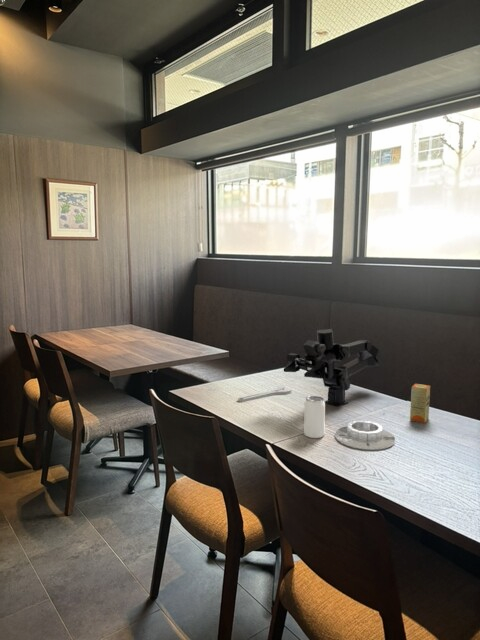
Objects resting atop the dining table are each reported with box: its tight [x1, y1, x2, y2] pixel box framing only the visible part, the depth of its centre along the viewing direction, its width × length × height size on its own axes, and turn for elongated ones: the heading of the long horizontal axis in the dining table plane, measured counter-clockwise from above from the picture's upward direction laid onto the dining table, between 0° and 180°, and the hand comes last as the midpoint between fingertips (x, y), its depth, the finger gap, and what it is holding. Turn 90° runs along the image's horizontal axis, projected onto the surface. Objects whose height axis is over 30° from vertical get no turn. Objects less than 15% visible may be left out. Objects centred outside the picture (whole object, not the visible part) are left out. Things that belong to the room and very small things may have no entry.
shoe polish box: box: [409, 383, 431, 424], centre depth 163 cm, size 5×5×12 cm
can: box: [303, 395, 326, 439], centre depth 150 cm, size 6×6×12 cm
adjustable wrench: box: [237, 386, 292, 403], centre depth 192 cm, size 25×6×2 cm, turn 118°
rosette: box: [334, 420, 396, 451], centre depth 148 cm, size 18×18×4 cm
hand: (294, 372), depth 162 cm, fingers open, 9 cm apart
